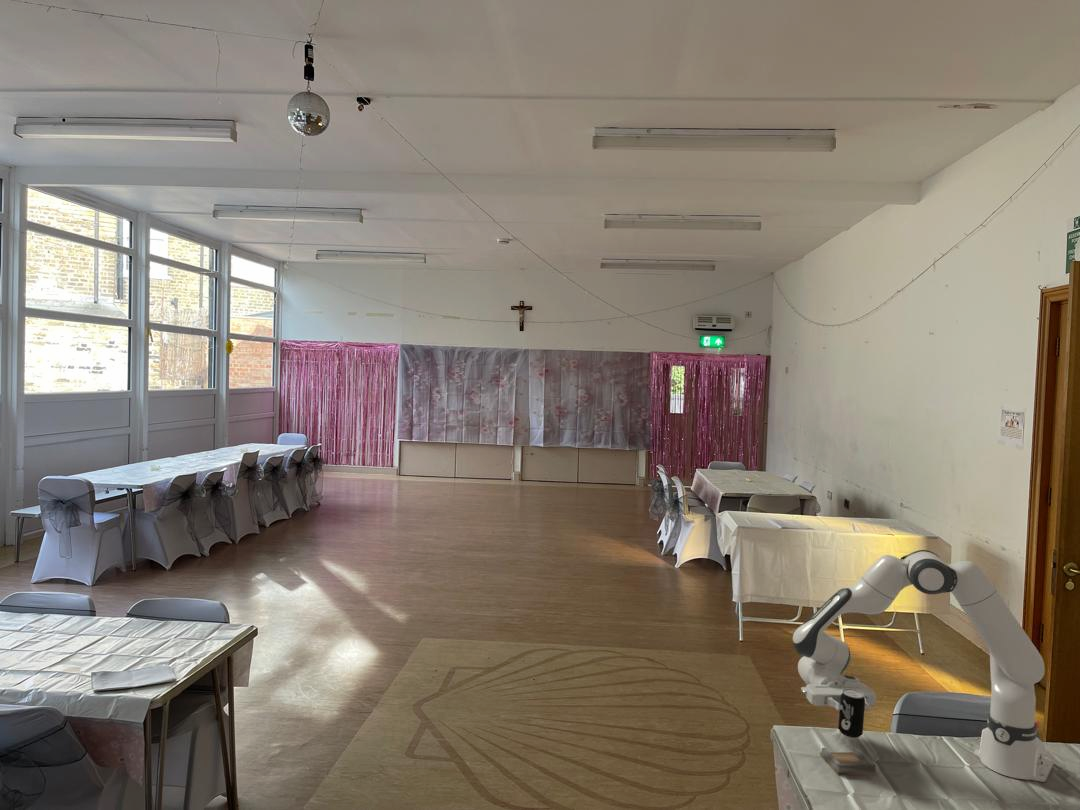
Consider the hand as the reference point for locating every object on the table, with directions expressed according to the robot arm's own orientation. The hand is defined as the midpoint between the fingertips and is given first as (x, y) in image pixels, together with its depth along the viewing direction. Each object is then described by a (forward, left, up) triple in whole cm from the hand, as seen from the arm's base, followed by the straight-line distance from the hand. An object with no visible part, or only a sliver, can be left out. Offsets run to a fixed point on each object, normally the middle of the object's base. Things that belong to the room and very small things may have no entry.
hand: (853, 707), depth 211 cm
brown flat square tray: (0, -1, -17) cm, 17 cm away
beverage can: (0, -1, -8) cm, 8 cm away
